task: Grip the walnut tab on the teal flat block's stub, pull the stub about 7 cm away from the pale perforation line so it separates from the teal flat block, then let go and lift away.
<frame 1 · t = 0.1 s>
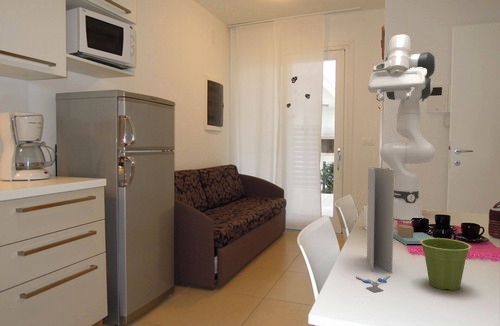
hand: (394, 99, 136), 54 cm above the table, tool tilted 30°, fingers open, 8 cm apart
brochure: (378, 265, 113), on the table
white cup: (372, 230, 162), on the table
teal flat block: (422, 240, 143), on the table
plant pot: (443, 286, 97), on the table
stub: (405, 233, 143), point 3 cm above the table, slide at 0.0 cm
blue grey flat piece: (370, 283, 99), on the table
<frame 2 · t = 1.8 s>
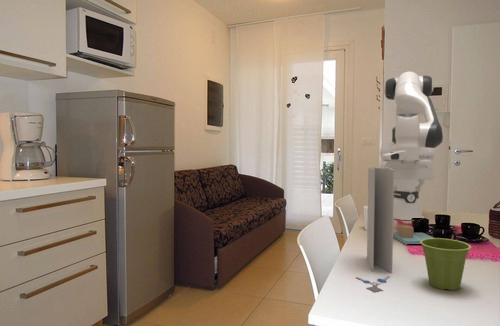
hand: (406, 191, 142), 19 cm above the table, tool pointing down, fingers open, 8 cm apart
nothing on the table moved.
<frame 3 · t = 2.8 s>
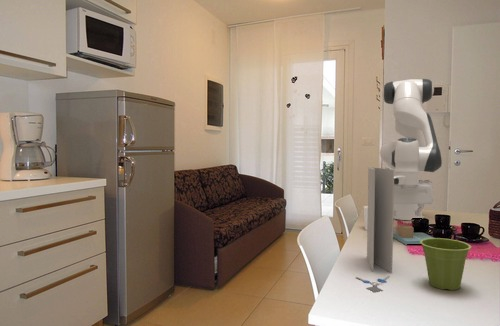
hand: (405, 215, 142), 10 cm above the table, tool pointing down, fingers open, 8 cm apart
nothing on the table moved.
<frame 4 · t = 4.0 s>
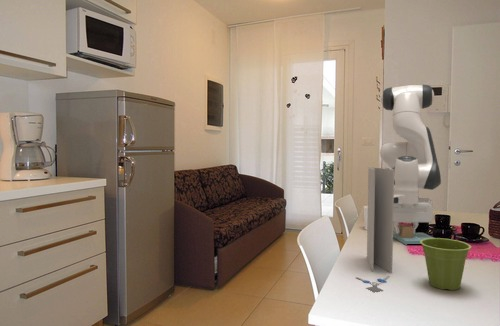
hand: (405, 233, 143), 3 cm above the table, tool pointing down, fingers closed on stub, 4 cm apart
stub: (405, 233, 143), point 3 cm above the table, slide at 0.0 cm, touching gripper
everything else where it was.
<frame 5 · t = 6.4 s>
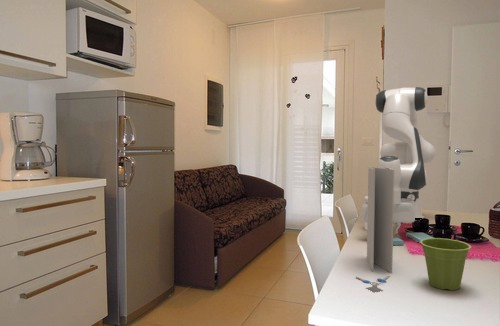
hand: (387, 233, 142), 3 cm above the table, tool pointing down, fingers closed on stub, 4 cm apart
stub: (388, 233, 142), point 3 cm above the table, slide at 6.9 cm, touching gripper
everything else where it was.
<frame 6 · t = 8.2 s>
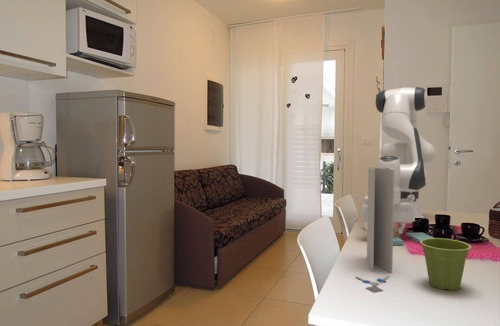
hand: (387, 233, 142), 3 cm above the table, tool pointing down, fingers open, 8 cm apart
stub: (388, 233, 142), point 3 cm above the table, slide at 6.9 cm
everything else where it was.
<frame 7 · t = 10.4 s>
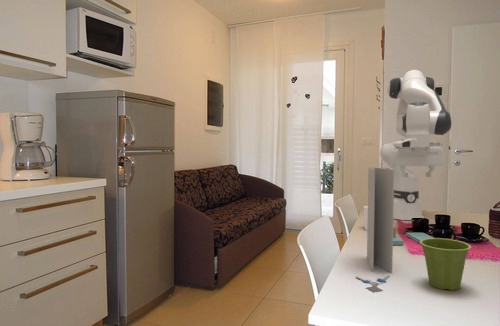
hand: (416, 177, 147), 24 cm above the table, tool pointing down, fingers open, 8 cm apart
nothing on the table moved.
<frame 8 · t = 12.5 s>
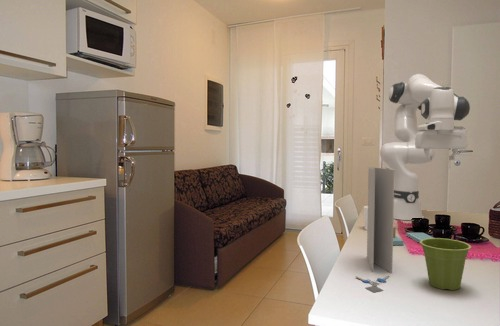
hand: (440, 160, 151), 31 cm above the table, tool pointing down, fingers open, 8 cm apart
nothing on the table moved.
at the end: stub slide at 6.9 cm; the gripper is holding nothing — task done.
